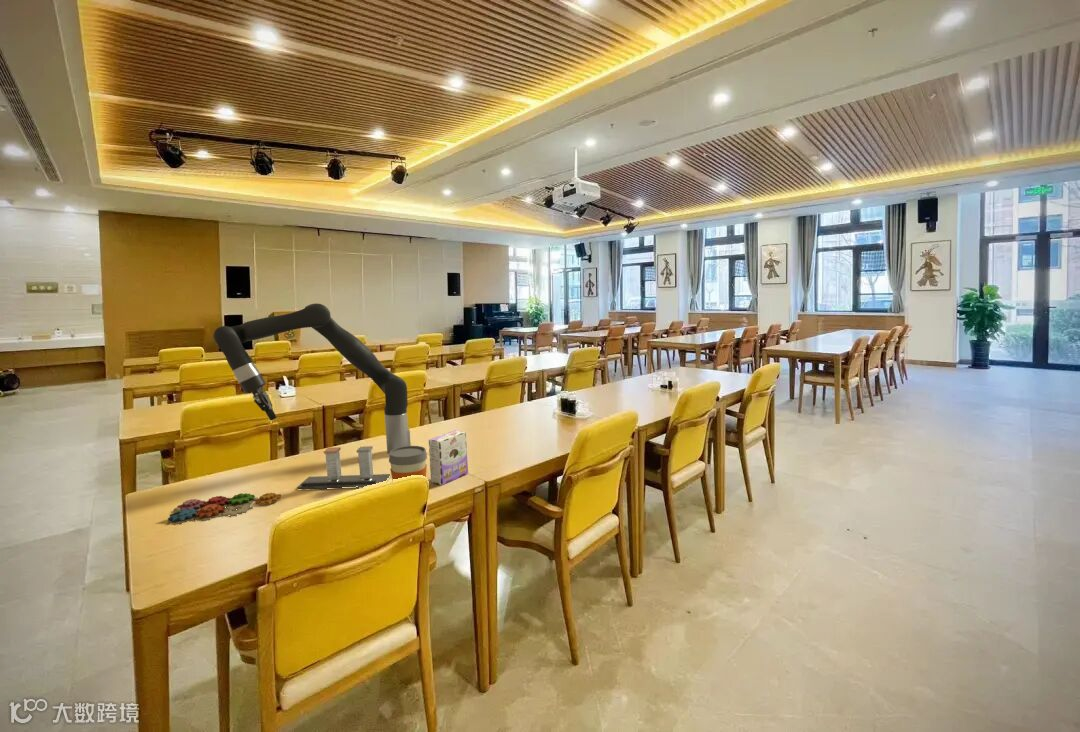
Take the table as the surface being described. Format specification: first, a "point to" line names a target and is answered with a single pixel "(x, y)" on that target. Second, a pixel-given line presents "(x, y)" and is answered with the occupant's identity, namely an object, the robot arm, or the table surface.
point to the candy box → (448, 457)
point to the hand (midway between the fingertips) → (273, 419)
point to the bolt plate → (349, 480)
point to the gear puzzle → (218, 507)
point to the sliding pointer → (333, 463)
